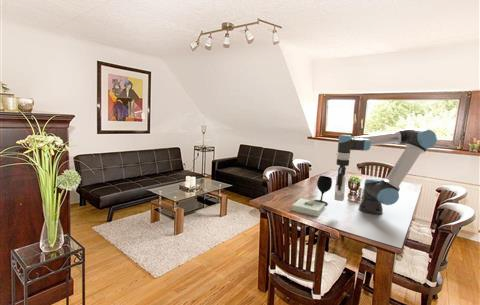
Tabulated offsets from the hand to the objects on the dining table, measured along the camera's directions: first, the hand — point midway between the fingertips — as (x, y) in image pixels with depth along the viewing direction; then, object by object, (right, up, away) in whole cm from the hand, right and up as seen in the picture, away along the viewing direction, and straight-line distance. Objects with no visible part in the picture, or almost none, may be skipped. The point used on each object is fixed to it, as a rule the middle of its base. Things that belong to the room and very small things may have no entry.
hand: (339, 193), depth 170 cm
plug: (0, -4, +1) cm, 4 cm away
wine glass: (-4, -11, +26) cm, 29 cm away
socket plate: (-17, -13, +12) cm, 25 cm away
